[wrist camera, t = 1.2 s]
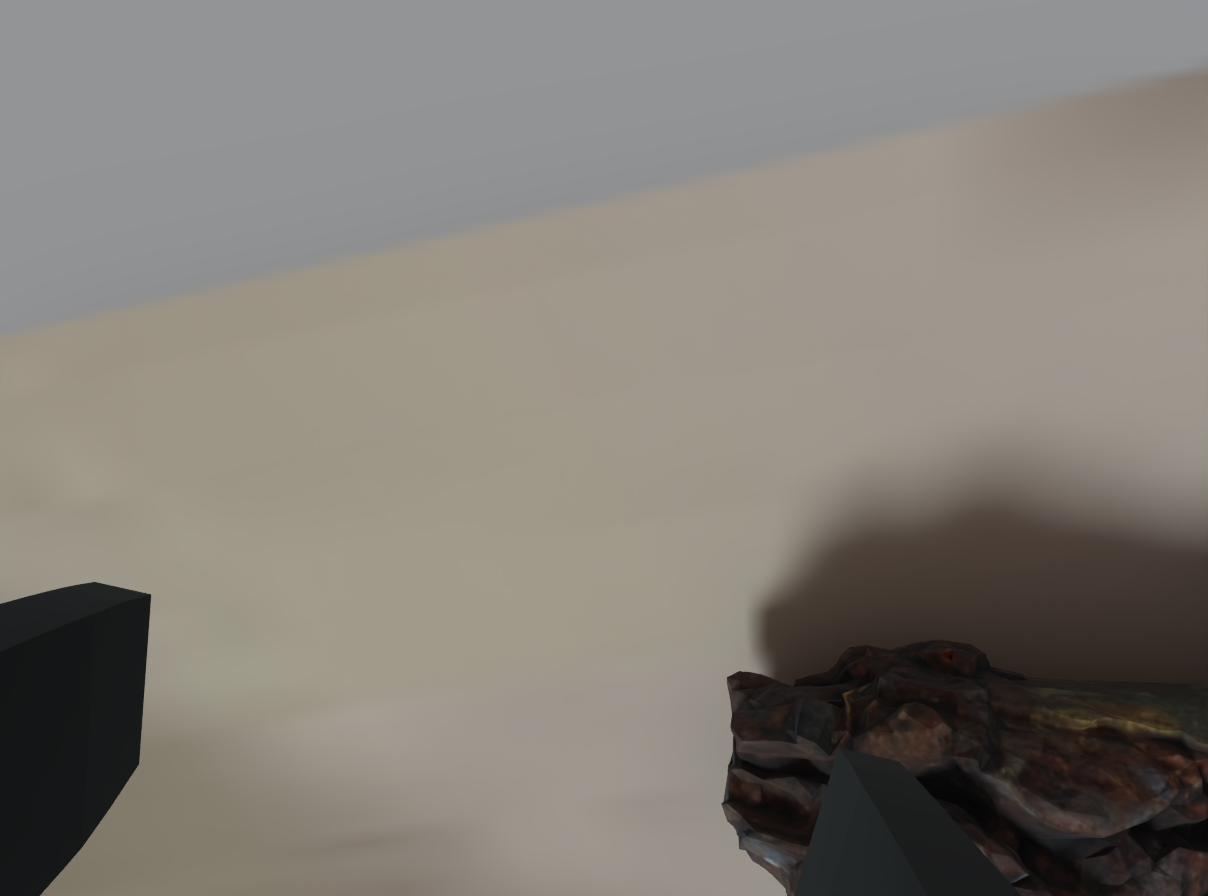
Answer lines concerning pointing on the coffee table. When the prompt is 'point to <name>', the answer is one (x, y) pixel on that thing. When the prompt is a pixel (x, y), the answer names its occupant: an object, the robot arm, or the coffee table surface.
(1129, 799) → the jagged brown rock
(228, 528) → the coffee table surface
